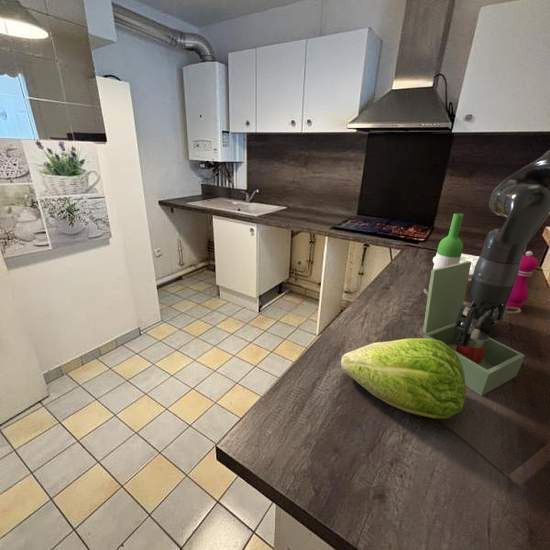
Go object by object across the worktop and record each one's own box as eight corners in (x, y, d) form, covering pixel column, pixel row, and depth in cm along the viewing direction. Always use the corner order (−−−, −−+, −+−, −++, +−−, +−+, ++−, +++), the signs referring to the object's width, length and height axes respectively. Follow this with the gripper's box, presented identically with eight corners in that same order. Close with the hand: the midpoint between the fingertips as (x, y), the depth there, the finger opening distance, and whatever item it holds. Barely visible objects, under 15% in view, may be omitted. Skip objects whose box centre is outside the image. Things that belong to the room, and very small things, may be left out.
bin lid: (471, 261, 73) (467, 260, 74) (434, 270, 68) (431, 269, 68) (460, 320, 79) (457, 319, 79) (425, 333, 73) (422, 332, 74)
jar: (461, 354, 76) (470, 325, 72) (483, 367, 71) (494, 337, 68) (447, 361, 73) (456, 330, 70) (469, 374, 69) (480, 343, 65)
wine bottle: (455, 293, 110) (476, 214, 99) (443, 298, 107) (464, 217, 95) (435, 286, 117) (453, 211, 105) (423, 290, 113) (441, 213, 101)
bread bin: (515, 378, 69) (525, 355, 66) (480, 398, 63) (489, 373, 60) (452, 342, 82) (458, 321, 79) (418, 356, 76) (423, 334, 74)
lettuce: (338, 415, 65) (362, 380, 77) (468, 438, 50) (471, 391, 63) (325, 352, 64) (351, 328, 76) (454, 357, 49) (460, 326, 62)
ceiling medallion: (452, 252, 156) (454, 246, 155) (513, 268, 134) (515, 262, 133) (420, 261, 143) (421, 255, 142) (481, 281, 121) (483, 274, 120)
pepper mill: (526, 306, 101) (548, 252, 93) (518, 312, 97) (540, 256, 90) (502, 298, 107) (520, 246, 99) (494, 304, 103) (512, 250, 95)
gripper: (492, 291, 57) (470, 357, 63) (531, 278, 63) (507, 341, 69) (455, 277, 63) (438, 339, 69) (494, 267, 69) (475, 325, 75)
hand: (472, 340), depth 69 cm, fingers open, 8 cm apart
